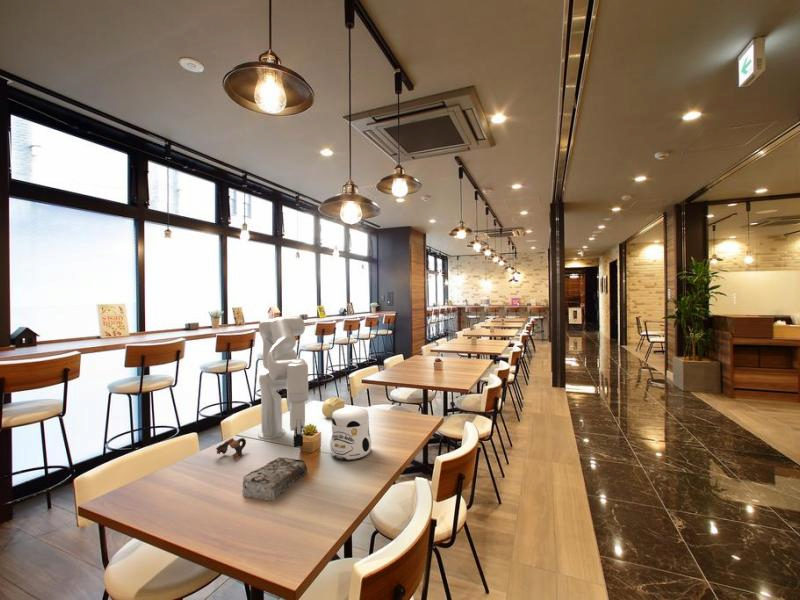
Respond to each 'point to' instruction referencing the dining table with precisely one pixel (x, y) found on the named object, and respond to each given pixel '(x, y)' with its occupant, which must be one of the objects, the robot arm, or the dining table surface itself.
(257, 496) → the stone block
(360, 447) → the milk container
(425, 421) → the dining table surface
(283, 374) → the robot arm
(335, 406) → the sculpture
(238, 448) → the brown animal figurine
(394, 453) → the dining table surface
